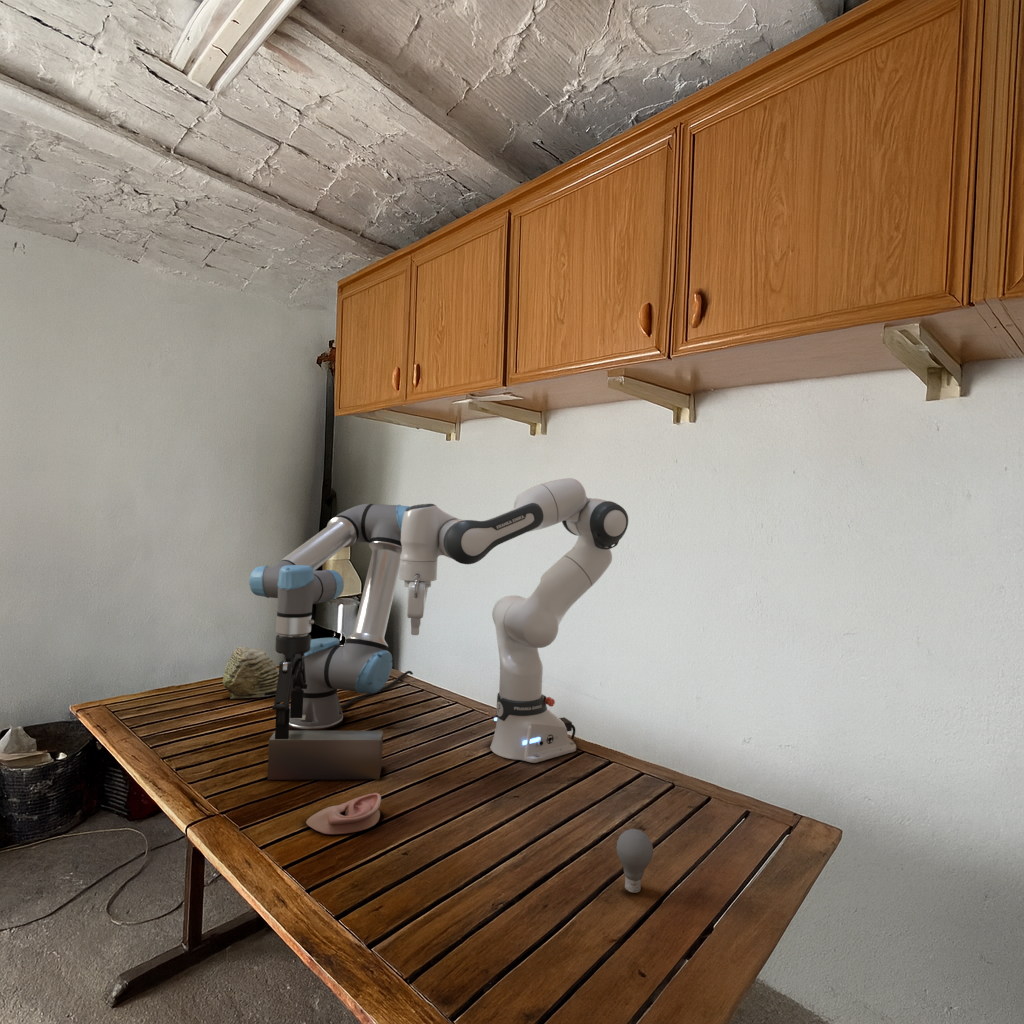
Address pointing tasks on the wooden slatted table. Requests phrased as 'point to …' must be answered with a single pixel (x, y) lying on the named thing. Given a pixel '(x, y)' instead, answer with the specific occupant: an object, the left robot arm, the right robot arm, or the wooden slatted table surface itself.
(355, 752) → the bar
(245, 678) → the fossil
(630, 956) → the wooden slatted table surface
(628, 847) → the light bulb
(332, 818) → the anatomical model
